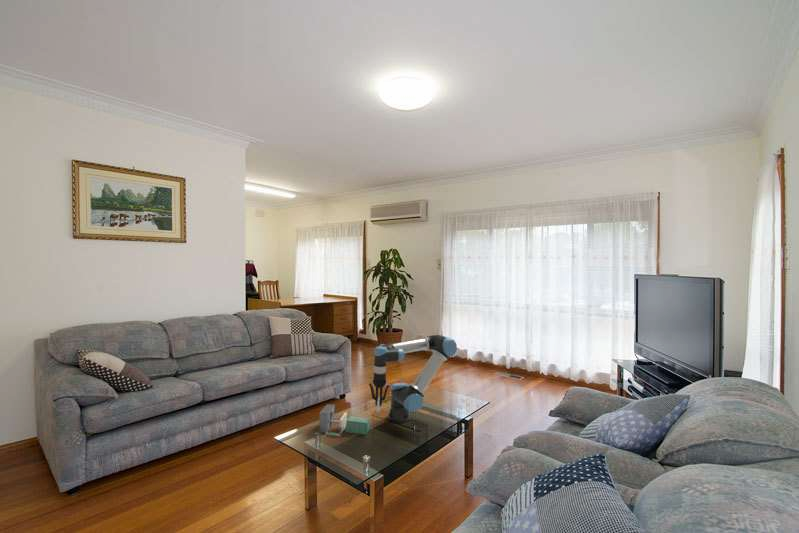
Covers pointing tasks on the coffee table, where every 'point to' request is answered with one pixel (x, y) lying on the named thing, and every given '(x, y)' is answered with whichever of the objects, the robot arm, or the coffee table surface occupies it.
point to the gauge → (327, 420)
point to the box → (357, 425)
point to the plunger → (341, 422)
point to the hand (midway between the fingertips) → (378, 411)
